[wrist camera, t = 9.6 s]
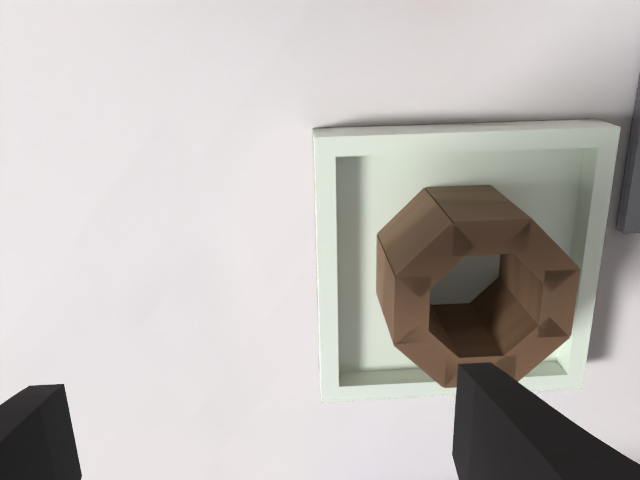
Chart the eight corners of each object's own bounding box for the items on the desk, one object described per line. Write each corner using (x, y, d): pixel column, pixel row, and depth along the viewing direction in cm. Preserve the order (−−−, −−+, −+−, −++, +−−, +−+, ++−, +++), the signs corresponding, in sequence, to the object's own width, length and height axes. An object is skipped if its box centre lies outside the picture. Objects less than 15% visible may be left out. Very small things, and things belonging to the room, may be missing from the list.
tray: (564, 366, 23) (582, 388, 22) (319, 378, 23) (322, 402, 21) (596, 119, 20) (620, 127, 18) (312, 128, 19) (314, 137, 18)
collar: (537, 183, 20) (587, 216, 16) (521, 326, 22) (565, 382, 18) (377, 188, 20) (396, 223, 16) (375, 333, 21) (392, 390, 18)
